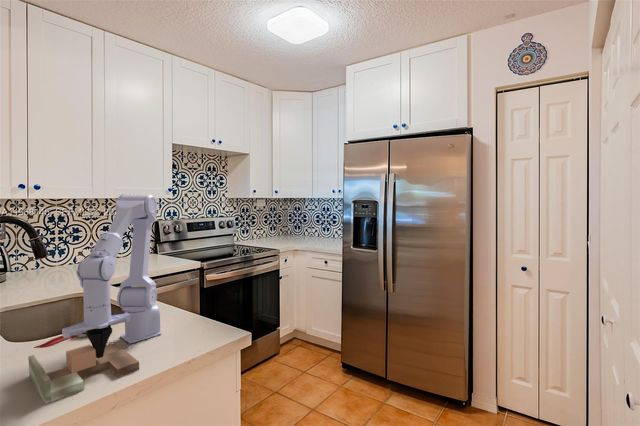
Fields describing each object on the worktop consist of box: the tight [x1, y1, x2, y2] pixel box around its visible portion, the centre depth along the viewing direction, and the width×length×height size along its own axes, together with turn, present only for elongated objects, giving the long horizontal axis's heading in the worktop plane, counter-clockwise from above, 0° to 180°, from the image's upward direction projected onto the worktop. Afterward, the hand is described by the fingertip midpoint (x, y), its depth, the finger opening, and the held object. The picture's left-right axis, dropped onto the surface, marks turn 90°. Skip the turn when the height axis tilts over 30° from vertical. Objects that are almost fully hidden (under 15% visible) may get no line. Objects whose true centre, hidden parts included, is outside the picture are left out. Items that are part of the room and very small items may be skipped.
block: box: [65, 344, 96, 373], centre depth 85 cm, size 5×4×4 cm
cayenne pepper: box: [33, 335, 77, 349], centre depth 103 cm, size 12×5×2 cm, turn 131°
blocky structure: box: [27, 342, 140, 405], centre depth 85 cm, size 19×16×5 cm
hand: (99, 356), depth 88 cm, fingers closed
